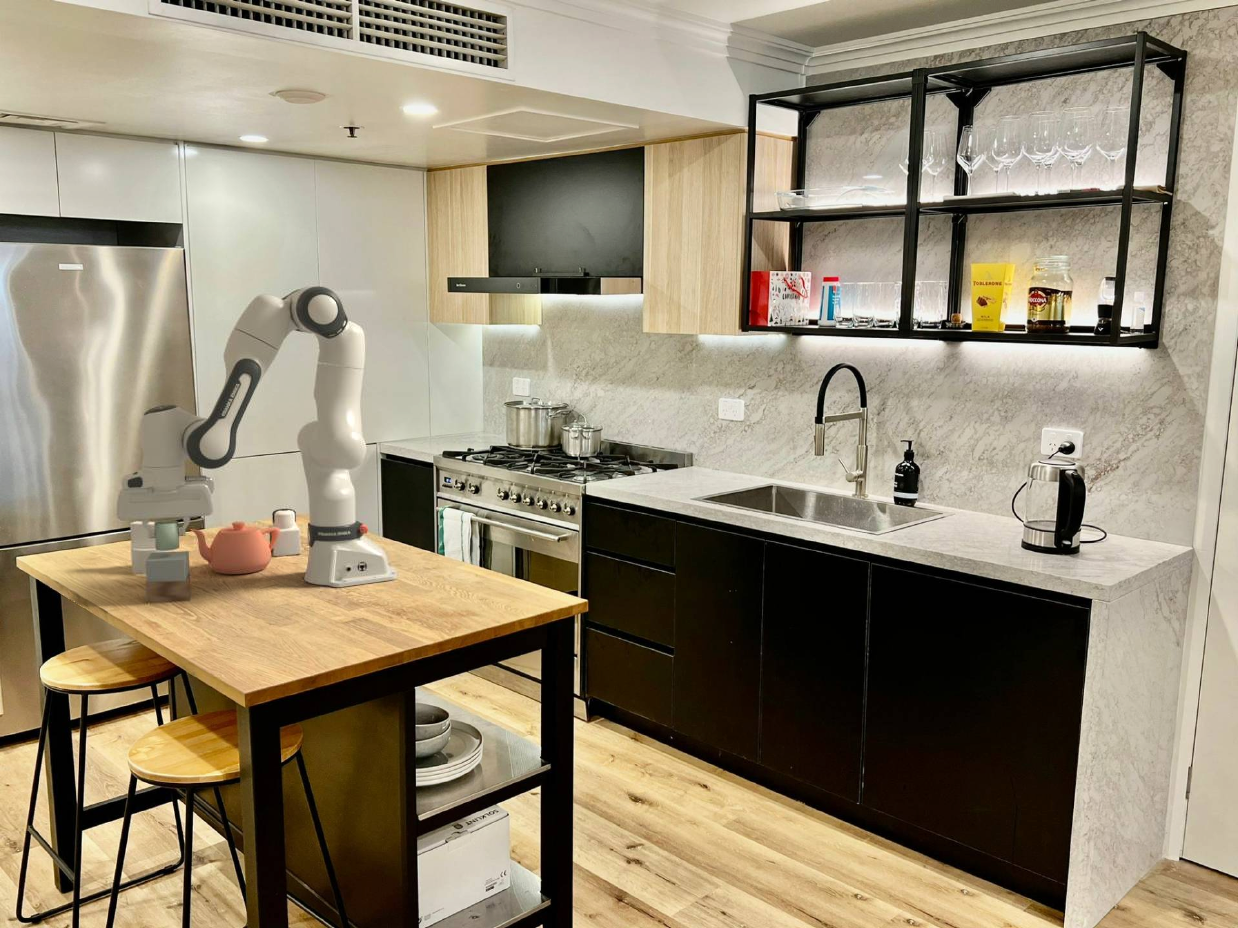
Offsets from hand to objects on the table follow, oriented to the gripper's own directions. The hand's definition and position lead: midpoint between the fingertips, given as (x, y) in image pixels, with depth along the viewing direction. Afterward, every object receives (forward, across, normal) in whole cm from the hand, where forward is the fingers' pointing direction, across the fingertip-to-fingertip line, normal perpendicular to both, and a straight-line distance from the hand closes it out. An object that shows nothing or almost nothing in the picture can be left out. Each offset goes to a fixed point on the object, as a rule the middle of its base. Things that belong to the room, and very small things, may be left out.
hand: (167, 536), depth 235 cm
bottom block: (+14, 0, 0) cm, 15 cm away
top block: (+10, 0, 0) cm, 10 cm away
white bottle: (+14, -28, -34) cm, 47 cm away
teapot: (+14, -16, -20) cm, 30 cm away
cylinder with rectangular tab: (+14, +4, -28) cm, 31 cm away
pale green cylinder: (+3, 0, 0) cm, 3 cm away
